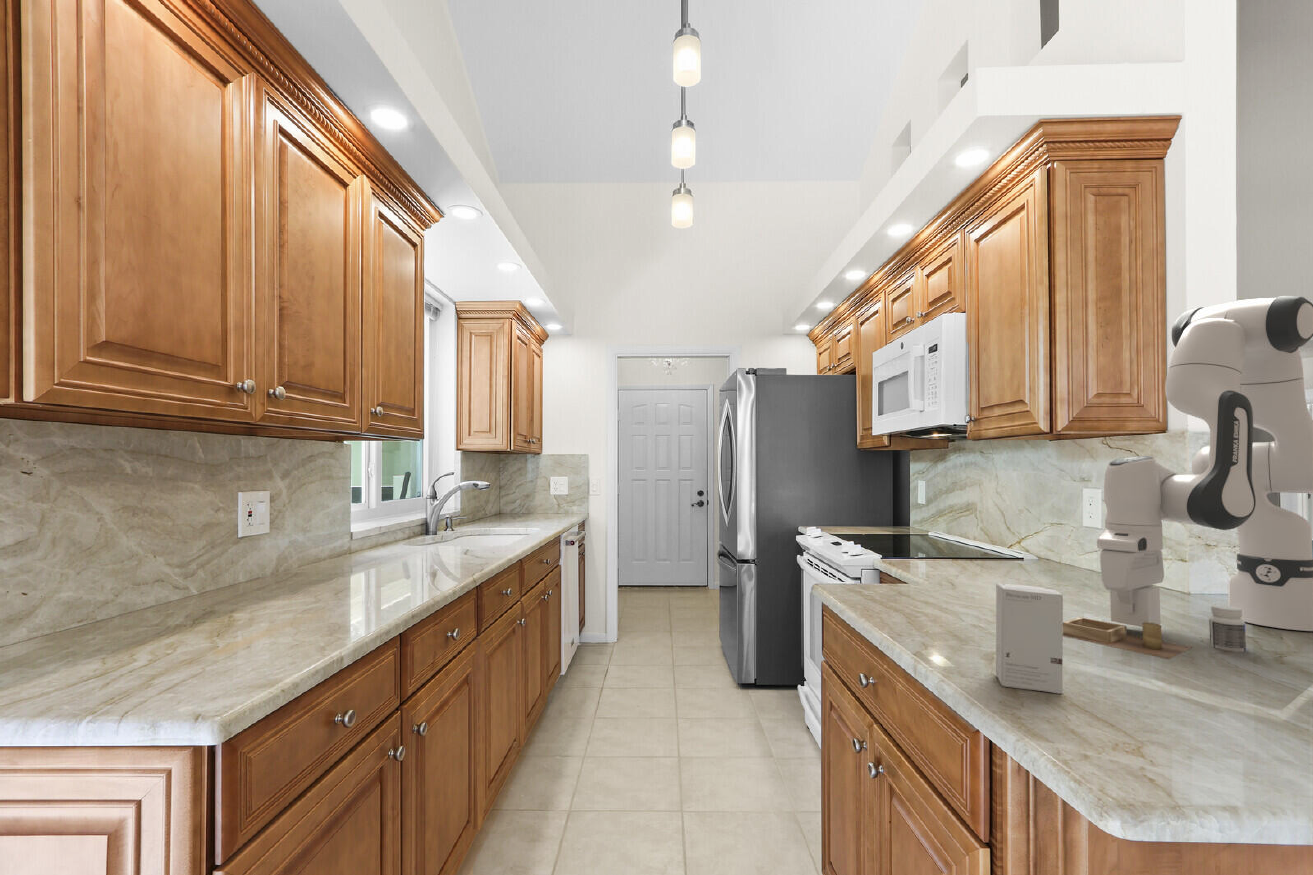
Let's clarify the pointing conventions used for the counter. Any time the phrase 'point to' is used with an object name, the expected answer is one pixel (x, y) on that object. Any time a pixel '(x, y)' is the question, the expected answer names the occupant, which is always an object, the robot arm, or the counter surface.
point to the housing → (1138, 607)
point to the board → (1123, 637)
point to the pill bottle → (1227, 628)
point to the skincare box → (1029, 637)
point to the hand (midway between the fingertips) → (1135, 610)
